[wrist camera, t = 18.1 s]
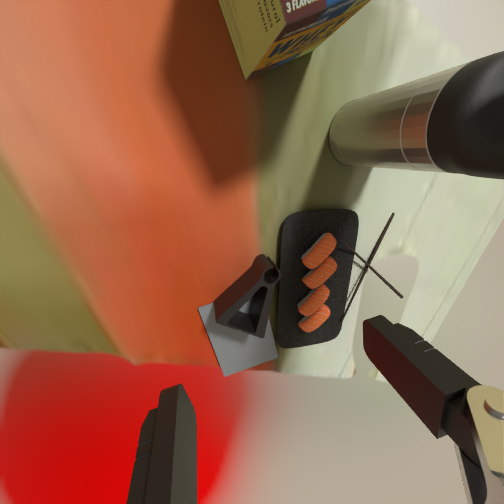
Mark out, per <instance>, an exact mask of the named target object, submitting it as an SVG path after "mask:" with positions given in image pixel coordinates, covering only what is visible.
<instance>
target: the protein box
mask: <svg viewBox="0 0 504 504" xmlns="http://www.w3.org/2000/svg"><path fill="white" fill-rule="evenodd" d="M218 1H219V4H220V7H221V10H222V13H223V16H224V19H225V22H226V25H227V27H228V30H229V33H230V36H231V39H232V42H233V45H234V48H235V51H236V54H237V57H238V60H239V63H240V66H241V69H242V72H243V74H244V77H245V80H248V79H250V78H252V77H254V76H256V75H259V74H261V73H263V72H266V71H268V70H271V69H273V68H275V67H278V66H280V65H282V64H285V63H287V62H289V61H291V60H294V59H296V58H298V57H300V56H303V55H305V54H307V53H309V52H311V51H314V50H315V49H316V48H317V47H318V46H319V45H320V44H321V43H323V42H324V41H325V40H326V39H327V38H328V37H329V36H331V35H332V34H333V33H334V32H335V31H336V30H337V29H338V28H339V27H341V26H342V25H343V24H344V23H345V22H346V21H347V20H349V19H350V18H351V17H352V16H353V15H354V14H355V13H357V12H358V11H359V10H360V9H361V8H362V7H363V6H365V5H366V4H367V3H368V2H369V1H370V0H218Z"/></svg>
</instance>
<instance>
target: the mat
mask: <svg viewBox="0 0 504 504" xmlns="http://www.w3.org/2000/svg"><path fill="white" fill-rule="evenodd" d="M253 296H254V295H253ZM253 296H252V297H251V298H250V299H249V300H248V301H247V302H246V303H245V304H244V305H243V306H242V307H241V309H240V310H239V311H241V312H244V313H246V314H248V313H249V311H250V307H251V303H252V300H253ZM198 310H199V312H200V315H201V317H202V320H203V323H204V325H205V328H206V330H207V333H208V336H209V338H210V341H211V343H212V346H213V348H214V351H215V354H216V356H217V359H218V361H219V364H220V367H221V369H222V372H223V374H224V376H228V375H231V374H234V373H236V372H239V371H242V370H245V369H248V368H251V367H254V366H256V365H259V364H262V363H265V362H268V361H271V360H273V359H276V358H278V354H277V350H276V345H275V341H274V337H273V332H272V328H271V324H270V320H269V317H268V322H267V327H266V332H265V337H264V338H259V337H256V336H253V335H250V334H247V333H244V332H241V330H239V331H238V330H235V329H232V328H229V327H226V326H223V325H220V324H217V323H216V321H215V312H214V303H211V304H207V305H204V306H201V307H198Z"/></svg>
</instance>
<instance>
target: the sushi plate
mask: <svg viewBox="0 0 504 504" xmlns="http://www.w3.org/2000/svg"><path fill="white" fill-rule="evenodd" d="M394 214H395V213H392V215H391V217H390V218H389V220H388V222H387V224H386V226H385V228H384V230H383V231H382V233H381V235H380V237H379V239H378V241H377V243H376V245H375V247H374V249H373V251H372V254H371V256H370V258H369V260H368V263H367V262H366V261H365V260H364V259H363V258H362V257H360V256H359V255H358V254H357V253H356V252H355V247H356V241H357V234H358V225H359V220H358V215H357V213H356V212H354V211H352V210H347V209H326V210H311V211H302V212H297V213H293V214H291V215H289V216H288V217H287V218H286V219H285V221H284V224H283V227H282V233H281V244H280V266H279V270H280V272H281V277H280V279H279V289H278V312H277V341H278V344H279V345H280V347H283V348H294V347H301V346H307V345H312V344H318V343H323V342H327V341H330V340H332V339H334V338H336V337H337V336H338V334H339V332H340V330H341V327H342V322H343V319H344V317H345V315H346V313H347V311H348V309H349V307H350V305H351V303H352V301H353V298H354V296H355V294H356V292H357V290H358V288H359V286H360V284H361V282H362V280H363V278H364V276H365V273H366V271H367V269H368V267H369V268H370V269H371V270H372V271H373V272H374V273H375V274H376V275H377V276H378V277H379V278H380V279H382V281H383V282H384V283H385V284H387V285H388V286H389V287H390V288H391V289H392V290H393V291H394V292H395V293H396V294H397V295H398V296H399V297H400V298H403V296H402V295H401V294H400V293H399V292H398V291H397V290H396V289H395V288H394V287H393V286H392V285H390V284H389V283H388V282H387V281H386V280H385V279H384V278H383V277H382V276H381V275H380V274H379V273H377V272H376V271H375V270H374V269H373V268H372V267H371V266H370V263H371V261H372V259H373V257H374V255H375V253H376V251H377V249H378V247H379V245H380V243H381V241H382V239H383V237H384V235H385V233H386V231H387V229H388V227H389V225H390V223H391V221H392V218H393V216H394ZM354 254H355V255H356V256H357V257H358V258H359V259H361V260H362V261H363V262H364V263H365V264H366V267H365V269H364V272H363V274H362V276H361V278H360V280H359V283H358V285H357V287H356V289H355V291H354V293H353V295H352V298H351V300H350V302H349V304H348V306H347V308H346V311H345V305H346V299H347V294H348V288H349V282H350V276H351V270H352V264H353V259H354ZM344 311H345V313H344Z"/></svg>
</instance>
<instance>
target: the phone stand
mask: <svg viewBox="0 0 504 504" xmlns="http://www.w3.org/2000/svg"><path fill="white" fill-rule="evenodd" d="M267 258H268V259H267ZM267 258H266V256H265V255H264V254H261V255H258V256H257V257H256V258H255V260H254V263H253V265H252V266H251V267H250V268H249V269H248V270H247V271H246V272H245V273H244V274H243V275H242V276H241V277H240V278H239V279H238V280H236V281H235V282H234V283H233V284H232V285H231V286H230V287H229V288H228V289H227V290H226V291H225V292H223V293H222V294H221V295H220V296H219V297H218V298H217V299H216V300H215V301H214V312H215V321H216V323H217V324H220V325H223V326H226V327H229V328H232V329H235V330H238V331H239V330H241V332H244V333H247V334H250V335H253V336H256V337H259V338H264V337H265V332H266V327H267V322H268V317H269V312H270V306H271V301H272V296H273V291H274V287H275V285H276V283H277V282H278V281H279V279H280V277H281V272H280V270H279V269H278V268H277V266H276V265H275V264H274V263H273V262H272V260H271V259H270V258H269V257H267ZM253 295H254V296H253ZM252 296H253V300H252V303H251V307H250V311H249V313H248V314H246V313H244V312H241V311H239V310H240V309H241V307H242V306H243V305H244V304H245V303H246V302H247V301H248V300H249V299H250V298H251V297H252Z"/></svg>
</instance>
